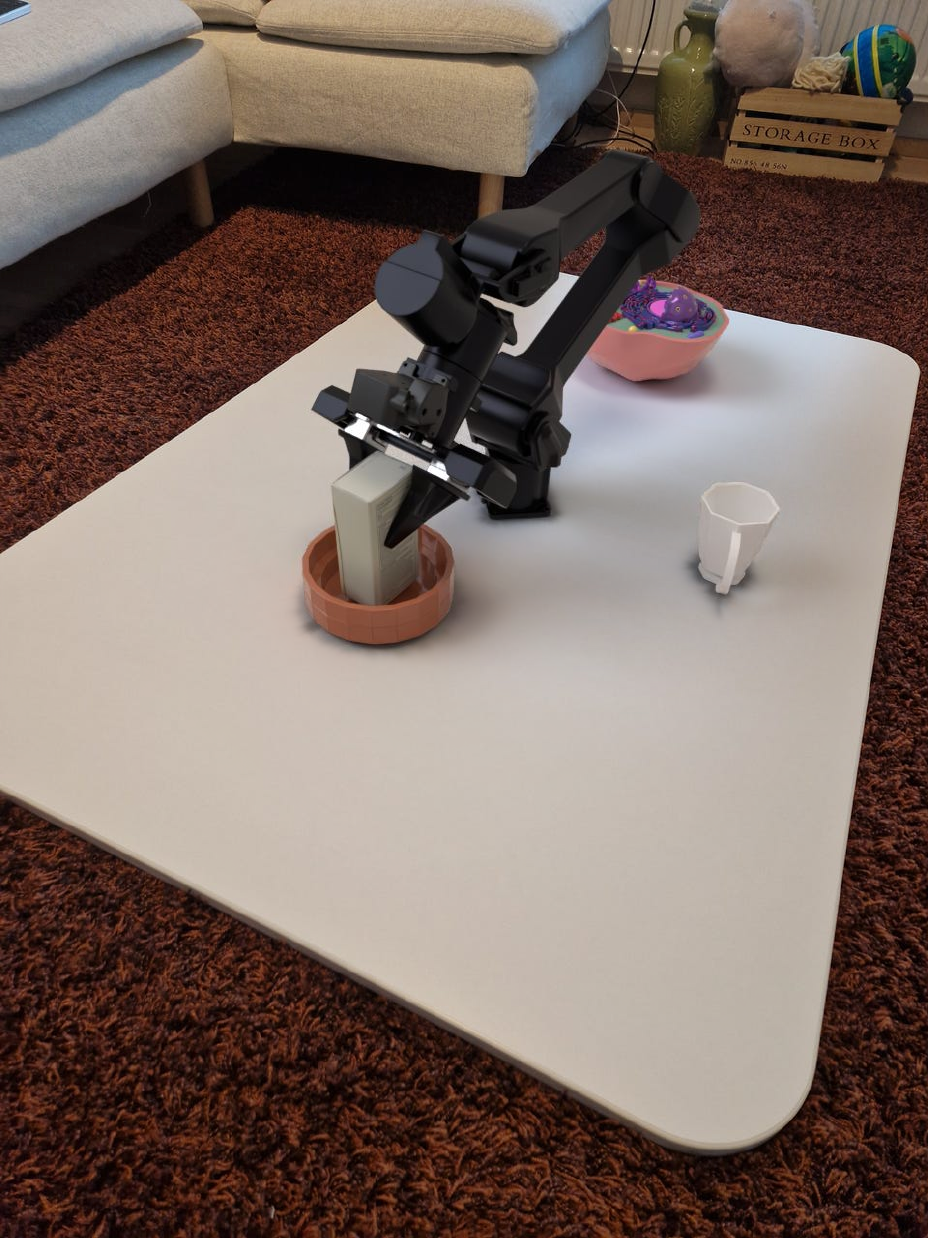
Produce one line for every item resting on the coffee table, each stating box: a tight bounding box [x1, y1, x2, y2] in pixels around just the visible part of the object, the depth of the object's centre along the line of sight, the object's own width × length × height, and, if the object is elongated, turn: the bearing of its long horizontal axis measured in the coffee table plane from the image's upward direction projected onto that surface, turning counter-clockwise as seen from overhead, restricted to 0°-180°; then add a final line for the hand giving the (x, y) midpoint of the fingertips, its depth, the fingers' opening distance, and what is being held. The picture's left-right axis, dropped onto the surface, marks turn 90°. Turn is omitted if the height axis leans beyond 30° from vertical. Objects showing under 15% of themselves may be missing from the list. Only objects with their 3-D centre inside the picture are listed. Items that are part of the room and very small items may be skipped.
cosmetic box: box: [330, 451, 419, 606], centre depth 78 cm, size 6×4×12 cm
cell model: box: [585, 276, 730, 382], centre depth 114 cm, size 17×20×11 cm
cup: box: [697, 481, 782, 595], centre depth 84 cm, size 7×10×8 cm
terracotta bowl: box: [301, 523, 455, 645], centre depth 82 cm, size 13×13×4 cm
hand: (366, 536), depth 77 cm, fingers closed on cosmetic box, 4 cm apart
